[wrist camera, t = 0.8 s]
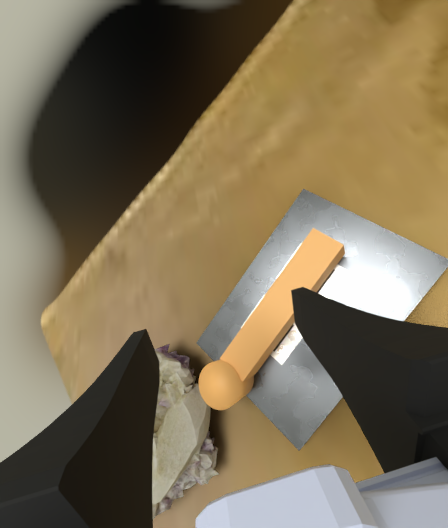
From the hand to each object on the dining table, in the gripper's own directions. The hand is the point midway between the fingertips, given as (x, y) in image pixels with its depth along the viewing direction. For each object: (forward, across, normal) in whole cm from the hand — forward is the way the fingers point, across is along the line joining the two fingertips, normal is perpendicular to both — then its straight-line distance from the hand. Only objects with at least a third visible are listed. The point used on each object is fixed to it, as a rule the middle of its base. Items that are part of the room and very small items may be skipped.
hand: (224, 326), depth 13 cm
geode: (+10, +8, +19) cm, 23 cm away
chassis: (+9, -8, +8) cm, 14 cm away
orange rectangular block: (+8, -5, +7) cm, 12 cm away
